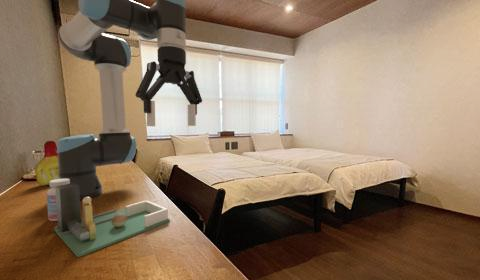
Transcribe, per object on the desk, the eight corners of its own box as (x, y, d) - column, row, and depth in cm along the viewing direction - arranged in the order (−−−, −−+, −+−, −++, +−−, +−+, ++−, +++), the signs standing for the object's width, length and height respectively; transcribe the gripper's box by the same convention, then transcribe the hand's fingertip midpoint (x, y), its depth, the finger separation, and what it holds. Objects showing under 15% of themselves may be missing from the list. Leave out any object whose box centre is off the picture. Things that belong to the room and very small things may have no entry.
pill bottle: (45, 223, 62) (42, 184, 61) (51, 215, 67) (49, 179, 66) (72, 219, 65) (70, 181, 64) (76, 211, 70) (74, 176, 69)
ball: (109, 227, 58) (108, 213, 58) (123, 222, 61) (122, 209, 61) (115, 231, 56) (114, 217, 56) (129, 226, 59) (128, 213, 59)
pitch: (54, 230, 58) (54, 226, 58) (137, 206, 75) (137, 203, 75) (77, 257, 46) (77, 252, 46) (169, 221, 63) (169, 217, 63)
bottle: (37, 188, 96) (33, 142, 95) (35, 185, 100) (32, 141, 99) (71, 182, 105) (68, 140, 104) (68, 180, 109) (65, 139, 108)
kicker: (58, 227, 57) (55, 186, 57) (78, 222, 61) (76, 182, 60) (74, 245, 49) (71, 197, 48) (96, 237, 52) (94, 192, 52)
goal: (125, 217, 66) (125, 206, 65) (147, 210, 71) (146, 200, 71) (146, 229, 58) (145, 216, 58) (168, 220, 64) (167, 208, 63)
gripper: (134, 31, 49) (137, 126, 51) (213, 57, 69) (213, 125, 71) (118, 38, 54) (121, 126, 56) (196, 61, 74) (197, 125, 75)
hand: (173, 126), depth 63 cm, fingers open, 13 cm apart
